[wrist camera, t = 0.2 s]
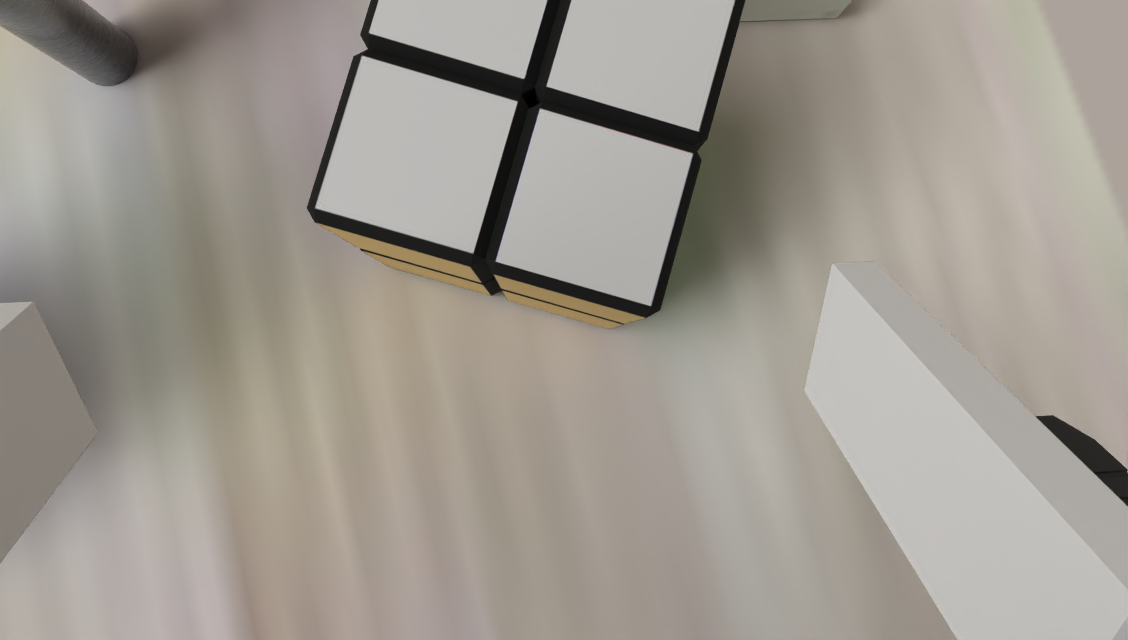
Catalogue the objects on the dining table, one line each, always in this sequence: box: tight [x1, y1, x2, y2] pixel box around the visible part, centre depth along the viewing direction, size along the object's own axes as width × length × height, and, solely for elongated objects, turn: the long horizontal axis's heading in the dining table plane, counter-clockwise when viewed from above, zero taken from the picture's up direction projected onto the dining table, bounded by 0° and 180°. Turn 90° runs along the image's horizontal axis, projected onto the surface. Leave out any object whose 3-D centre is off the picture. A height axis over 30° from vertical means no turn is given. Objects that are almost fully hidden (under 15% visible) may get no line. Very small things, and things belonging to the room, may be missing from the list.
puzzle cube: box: [307, 0, 745, 329], centre depth 24 cm, size 10×10×10 cm
